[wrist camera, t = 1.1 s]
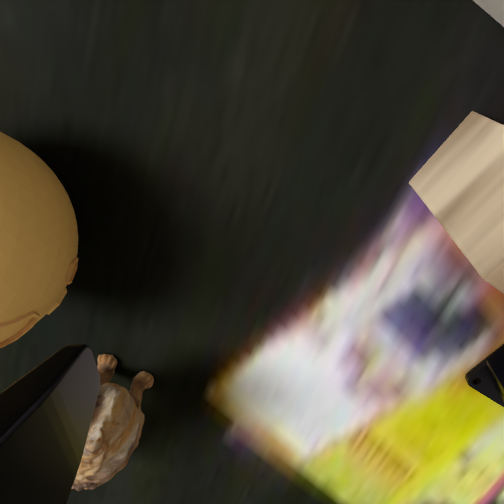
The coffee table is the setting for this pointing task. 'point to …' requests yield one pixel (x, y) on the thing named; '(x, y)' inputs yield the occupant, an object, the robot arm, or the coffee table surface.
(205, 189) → the coffee table surface
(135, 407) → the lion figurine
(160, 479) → the coffee table surface
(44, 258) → the stress ball
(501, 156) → the wooden block
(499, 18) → the breaker housing
